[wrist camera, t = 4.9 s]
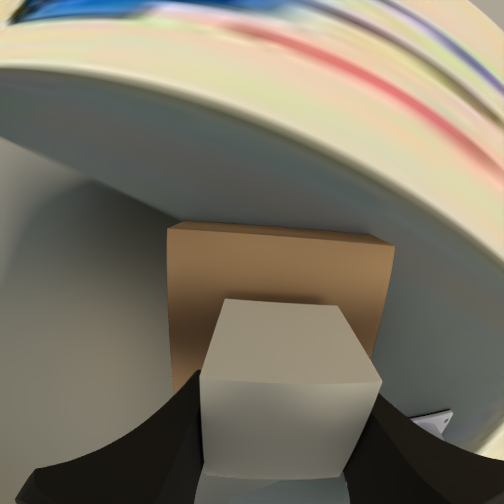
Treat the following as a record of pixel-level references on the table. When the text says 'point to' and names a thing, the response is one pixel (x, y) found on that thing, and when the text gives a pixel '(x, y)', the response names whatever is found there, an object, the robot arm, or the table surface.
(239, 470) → the grey cube
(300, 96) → the table surface
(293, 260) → the walnut block
